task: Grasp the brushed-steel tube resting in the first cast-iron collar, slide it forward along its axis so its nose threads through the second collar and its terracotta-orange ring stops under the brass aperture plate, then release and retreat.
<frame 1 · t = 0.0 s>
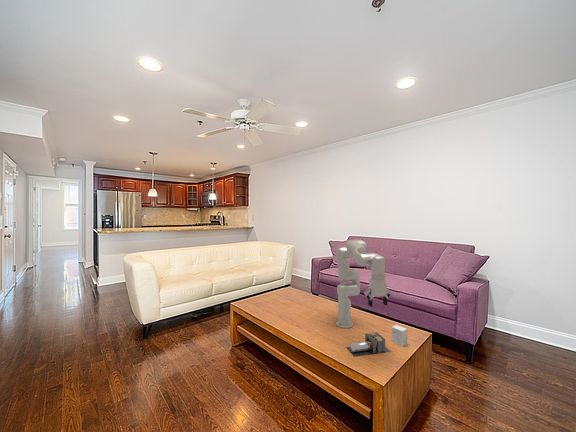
hand: (377, 305, 153), 31 cm above the table, fingers open, 9 cm apart
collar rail: (370, 350, 162), on the table
tube: (364, 349, 161), point 1 cm above the table, touching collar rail
small box: (399, 343, 170), on the table
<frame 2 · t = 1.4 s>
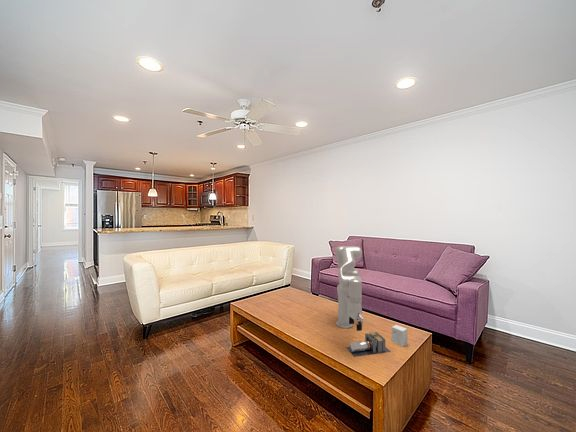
hand: (355, 327, 158), 16 cm above the table, fingers open, 9 cm apart
tube: (364, 349, 161), point 1 cm above the table, tilted 10°, touching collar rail
everything else where it was.
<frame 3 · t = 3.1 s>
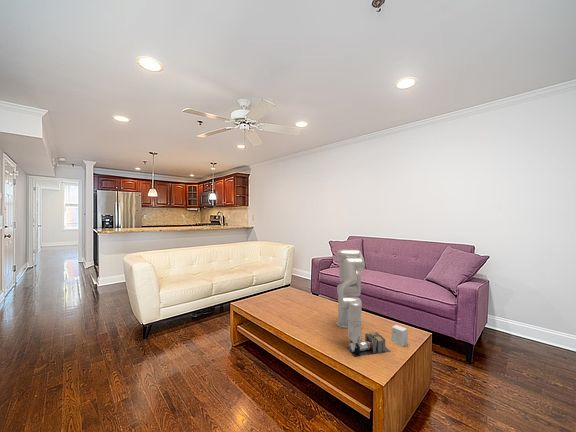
hand: (354, 350, 159), 1 cm above the table, fingers closed on tube, 5 cm apart
tube: (364, 349, 161), point 1 cm above the table, tilted 8°, touching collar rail, gripper
everything else where it was.
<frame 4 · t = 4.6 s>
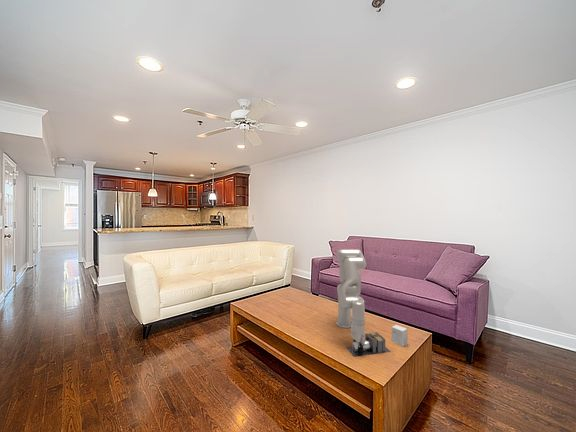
hand: (358, 349, 160), 1 cm above the table, fingers closed on tube, 5 cm apart
tube: (367, 349, 161), point 1 cm above the table, tilted 8°, touching gripper
everything else where it was.
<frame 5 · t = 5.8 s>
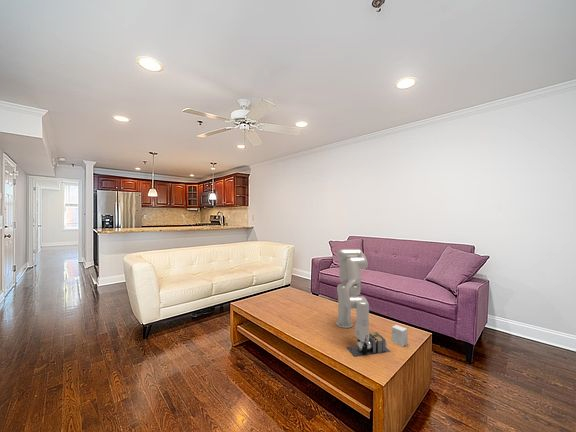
hand: (362, 349, 160), 1 cm above the table, fingers closed on tube, 5 cm apart
tube: (372, 348, 161), point 1 cm above the table, tilted 8°, touching gripper
everything else where it was.
when the fingers open (1 cm above the table, at t = 6.2 s): tube stays where it is, resting on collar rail.
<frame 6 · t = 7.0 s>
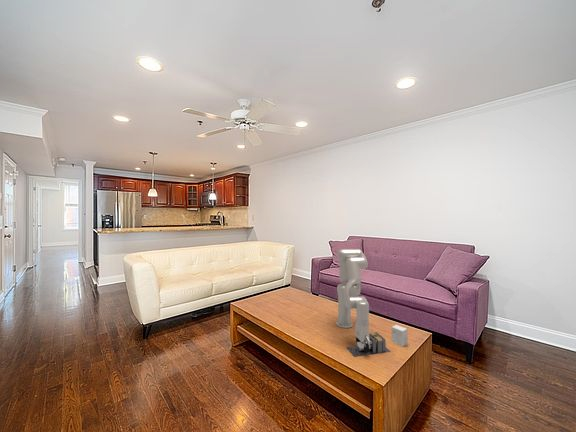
hand: (362, 348, 160), 2 cm above the table, fingers open, 9 cm apart
tube: (371, 349, 161), point 1 cm above the table, tilted 18°, touching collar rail
everything else where it was.
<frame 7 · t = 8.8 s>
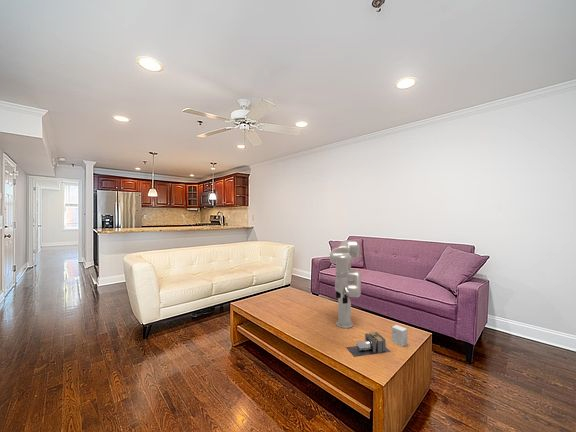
hand: (341, 300, 167), 29 cm above the table, fingers open, 9 cm apart
nothing on the table moved.
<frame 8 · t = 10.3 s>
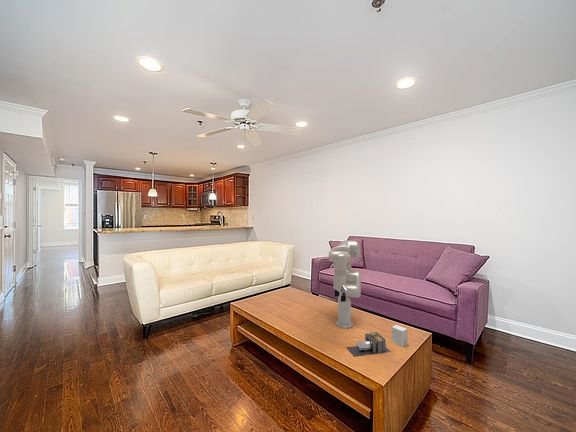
hand: (340, 298, 167), 30 cm above the table, fingers open, 9 cm apart
nothing on the table moved.
at the end: tube 0.2 cm from the target spot, point 0.8 cm above the table; the gripper is holding nothing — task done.
